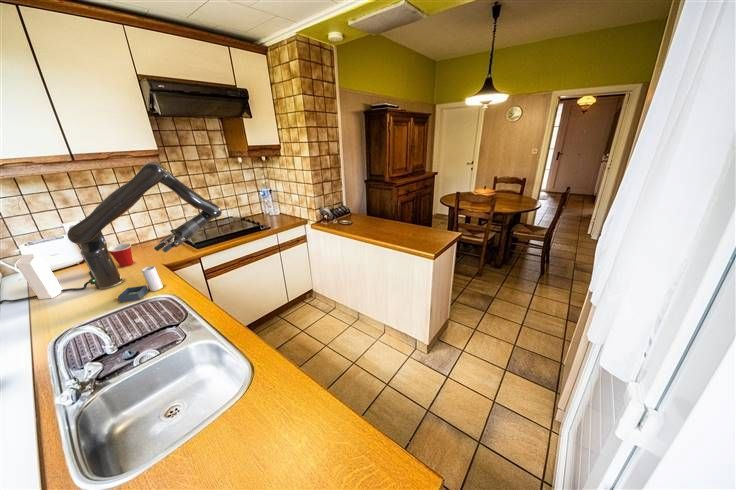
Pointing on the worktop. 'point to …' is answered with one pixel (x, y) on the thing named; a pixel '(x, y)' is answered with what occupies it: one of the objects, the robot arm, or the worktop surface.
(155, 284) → the tumbler
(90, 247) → the robot arm
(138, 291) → the dark square dish
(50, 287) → the milk
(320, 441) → the worktop surface
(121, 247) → the plastic cup
